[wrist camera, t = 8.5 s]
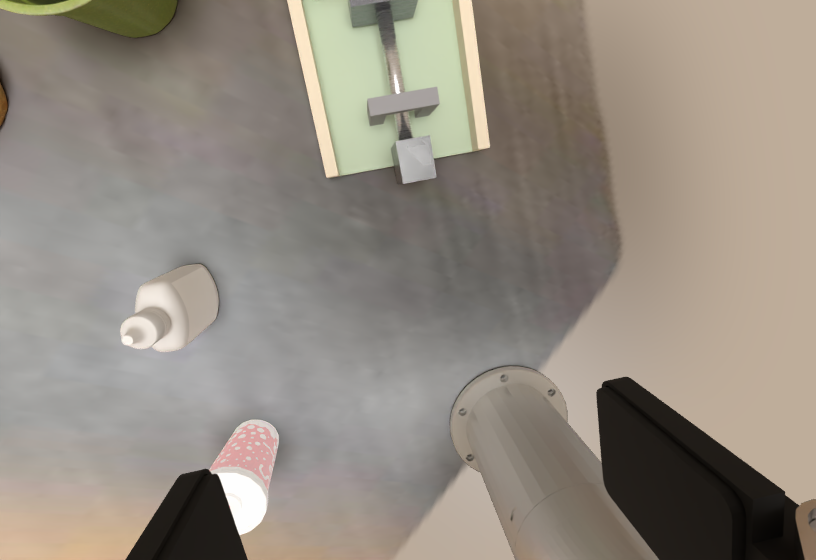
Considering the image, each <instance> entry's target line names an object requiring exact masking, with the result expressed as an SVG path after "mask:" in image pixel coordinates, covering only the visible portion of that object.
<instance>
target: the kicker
mask: <svg viewBox="0 0 816 560" xmlns="http://www.w3.org/2000/svg"><path fill="white" fill-rule="evenodd" d="M417 2H418V0H348V7H349V12H350V17H351V23H352V27H359V26H365V25H371V24H377V23H378V27H379V33H380V38H381V44H382V49H383V55H384V61H385V66H386V72H387V78H388V83H389V89H390V95H392V94H397V93H403V92H405V87H404V81H403V75H402V69H401V63H400V57H399V51H398V45H397V39H396V33H395V28H394V22H393V21H395V20H401V19H407V18H413V16H414V13H415V9H416V6H417ZM394 117H395V123H396V129H397V134H398V140H399V141H395V143H394V144H393V146H392V147H391V153H392V159H393V164H394V170H395V175H396V181H397V184H406V183H411V182H416V181H422V180H427V179H432V178H437V177H436V171H435V164H434V158H433V152H432V145H431V139H430V135H428V136H422V137H417V138H413V134H412V128H411V122H410V117H409V111H408V112H403V113H397V114H394Z"/></svg>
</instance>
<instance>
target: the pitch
mask: <svg viewBox="0 0 816 560" xmlns="http://www.w3.org/2000/svg"><path fill="white" fill-rule="evenodd" d="M287 2H288V6H289V11H290V15H291V20H292V24H293V29H294V33H295V38H296V42H297V47H298V51H299V56H300V60H301V65H302V69H303V74H304V78H305V83H306V87H307V92H308V96H309V101H310V105H311V110H312V114H313V119H314V123H315V128H316V132H317V137H318V141H319V146H320V150H321V155H322V159H323V164H324V168H325V173H326V177H327V178H333V177H338V176H344V175H349V174H355V173H360V172H365V171H371V170H376V169H382V168H387V167H392V166H394V164H393V159H392V153H391V147H392V146H393V144H394V143H395V141H399V140H398V134H397V129H396V123H395V117H394V114H397V113H403V112H408V111H409V117H410V122H411V128H412V134H413V138H417V137H422V136H428V135H430V139H431V145H432V152H433V158H434V159H436V158H441V157H447V156H452V155H457V154H463V153H468V152H474V151H479V150H483V149H487V148H490V143H489V135H488V127H487V119H486V112H485V104H484V96H483V88H482V80H481V72H480V64H479V56H478V48H477V40H476V32H475V24H474V17H473V9H472V1H471V0H418V2H417V6H416V9H415V13H414V16H413V18H407V19H401V20H395V21H393V22H394V28H395V33H396V39H397V45H398V51H399V57H400V63H401V69H402V75H403V81H404V87H405V92H403V93H397V94H392V95H390V89H389V83H388V78H387V72H386V66H385V61H384V55H383V49H382V44H381V38H380V33H379V27H378V23H377V24H371V25H365V26H359V27H352V23H351V17H350V12H349V7H348V0H287Z"/></svg>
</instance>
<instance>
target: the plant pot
mask: <svg viewBox="0 0 816 560" xmlns="http://www.w3.org/2000/svg"><path fill="white" fill-rule="evenodd" d="M177 1H178V0H0V8H1V9H3V10H7V11H10V12H14V13H19V14H26V15H36V16H46V15H57V16H65V17H68V18H71V19H74V20H77V21H80V22H83V23H87V24H90V25H93V26H96V27H98V28H101V29H104V30H107V31H110V32H114V33H117V34H120V35H123V36H127V37H133V38H137V37H144V36H149V35H153V34H156V33H158V32H159V31H161V30H162V29H163V28H164V27H165V26H166V25H167V24H168V23H169V22H170V21H171V19H172V17H173V15H174V13H175V10H176V6H177Z"/></svg>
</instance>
